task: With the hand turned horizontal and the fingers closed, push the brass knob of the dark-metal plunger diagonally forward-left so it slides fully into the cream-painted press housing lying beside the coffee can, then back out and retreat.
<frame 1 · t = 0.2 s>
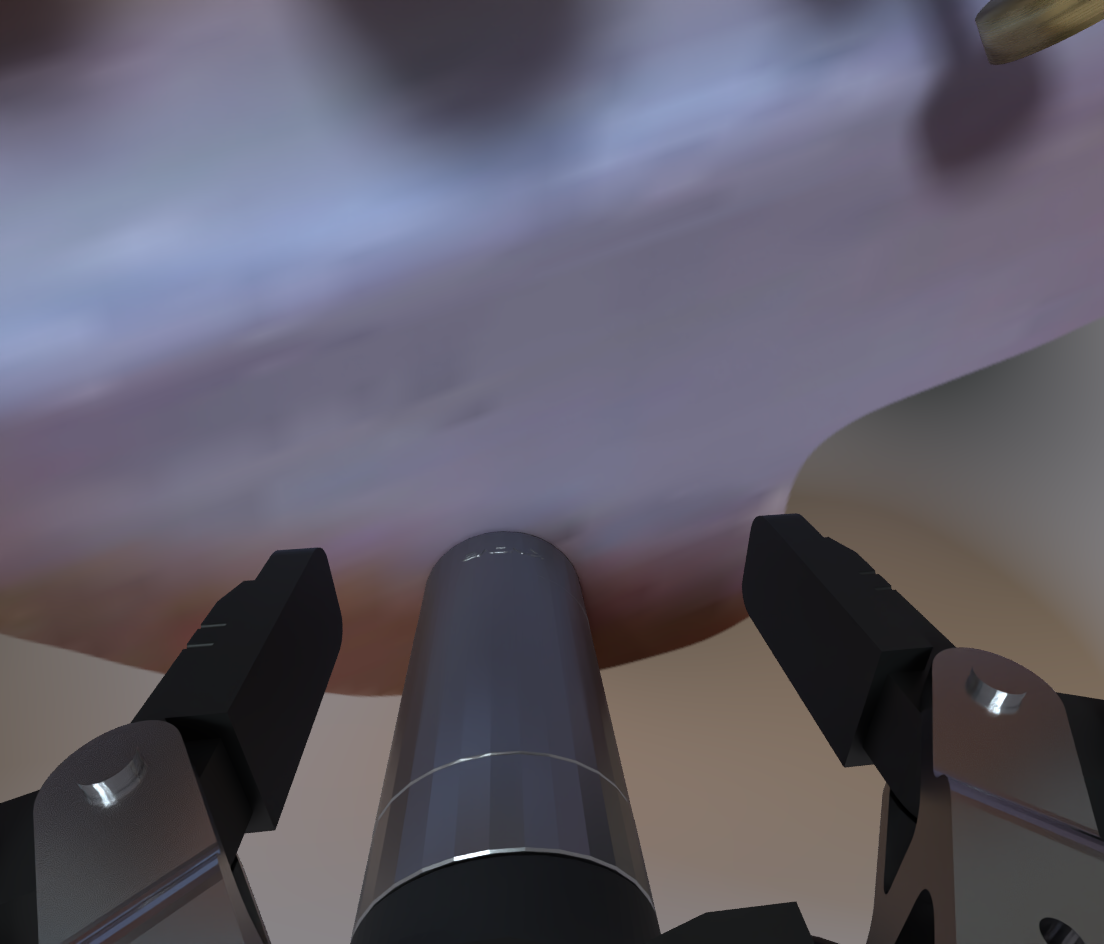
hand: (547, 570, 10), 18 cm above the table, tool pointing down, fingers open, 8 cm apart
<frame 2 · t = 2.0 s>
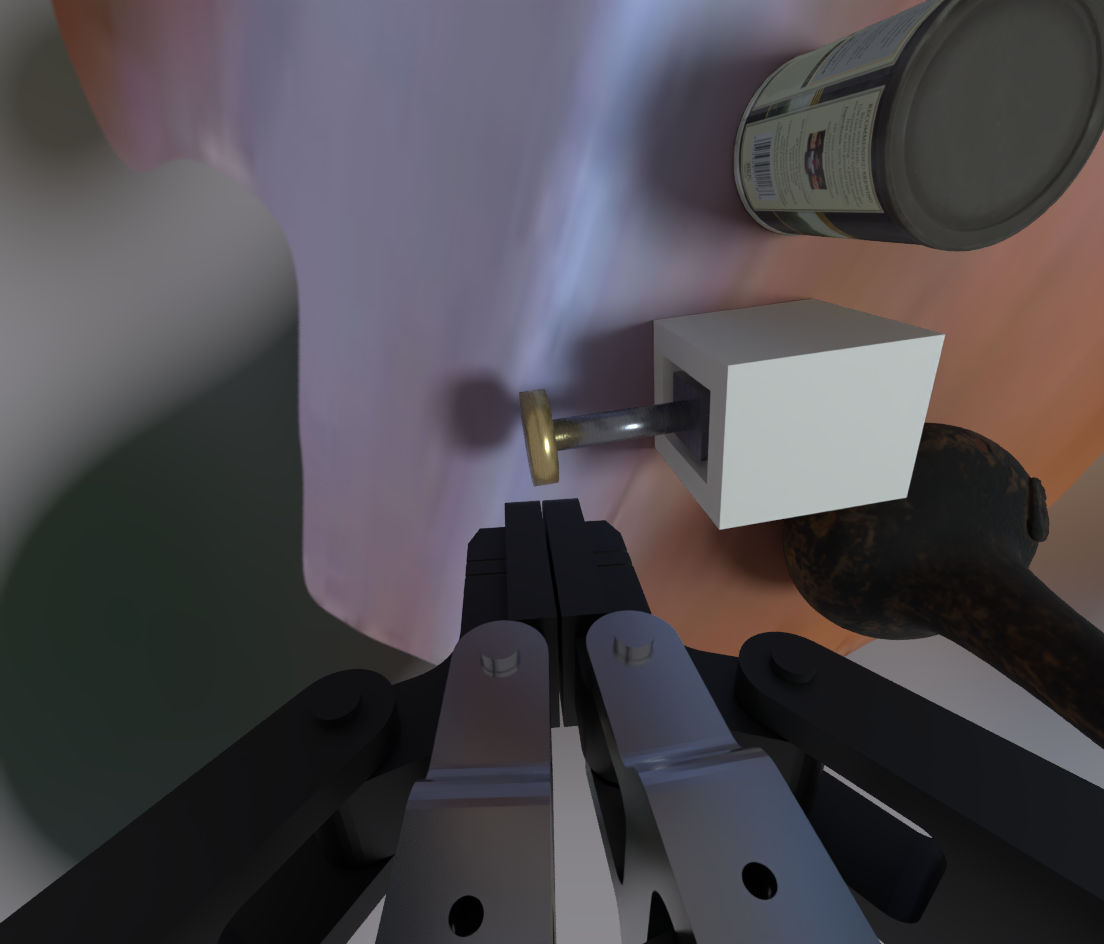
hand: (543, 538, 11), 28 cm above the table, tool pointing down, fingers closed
press housing: (730, 376, 41), on the table
coffee can: (806, 147, 35), on the table
plunger: (615, 426, 35), point 6 cm above the table, slide at 0.0 cm
antique onion bottle: (848, 492, 48), on the table
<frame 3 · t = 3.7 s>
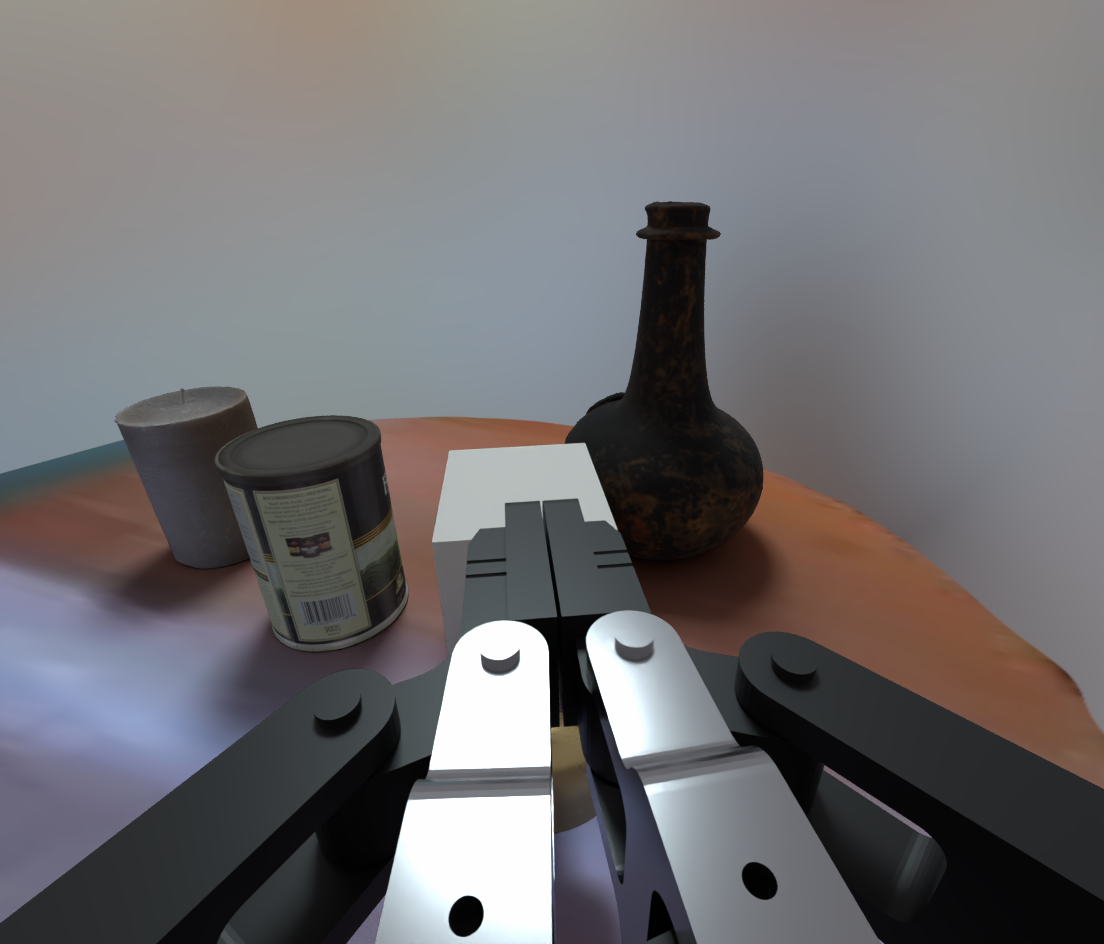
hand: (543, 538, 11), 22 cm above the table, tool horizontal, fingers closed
press housing: (528, 628, 40), on the table
coffee can: (342, 606, 43), on the table
plunger: (535, 683, 28), point 6 cm above the table, slide at 0.0 cm
pillar candle: (231, 541, 51), on the table
antique onion bottle: (653, 533, 51), on the table
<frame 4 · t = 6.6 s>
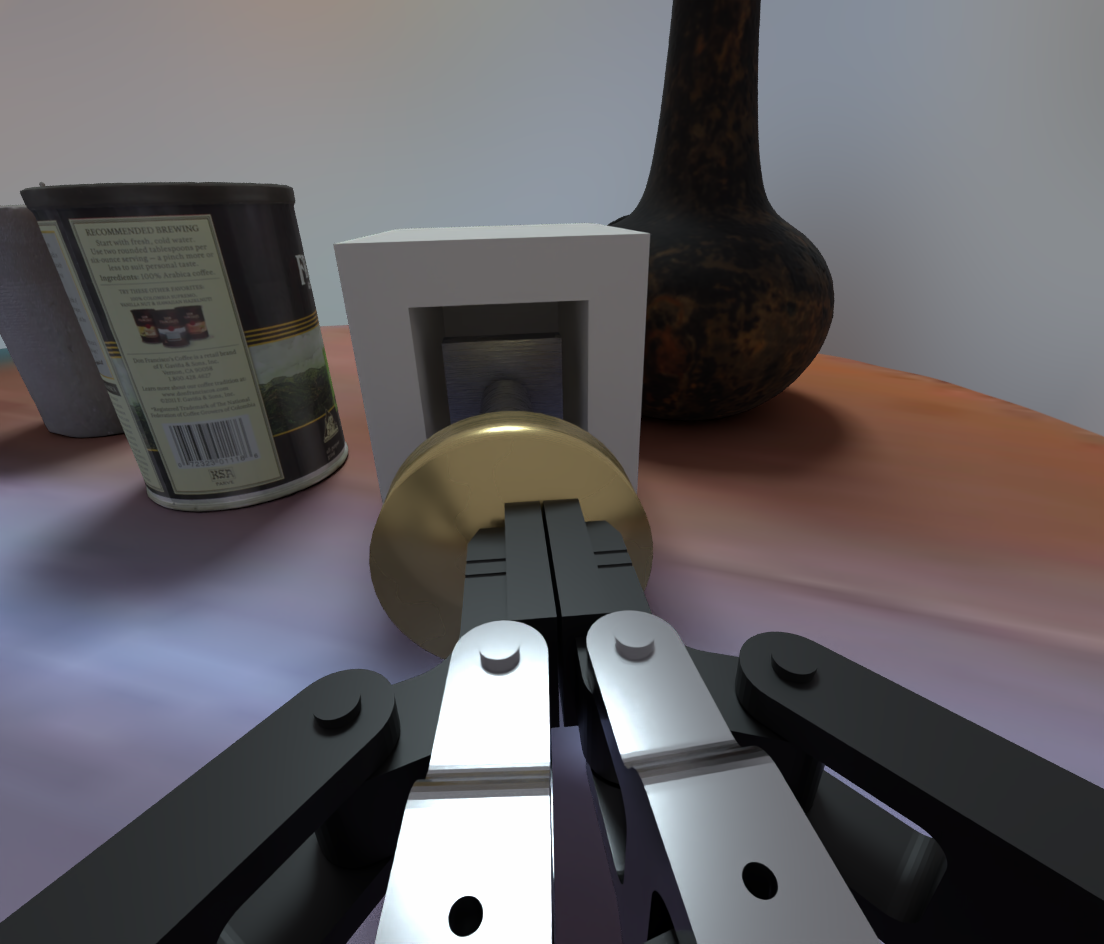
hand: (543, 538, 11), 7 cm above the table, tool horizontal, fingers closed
press housing: (512, 485, 28), on the table
coffee can: (254, 470, 31), on the table
plunger: (508, 456, 17), point 6 cm above the table, slide at 1.1 cm, touching gripper
pillar candle: (130, 416, 40), on the table
antique onion bottle: (679, 402, 39), on the table
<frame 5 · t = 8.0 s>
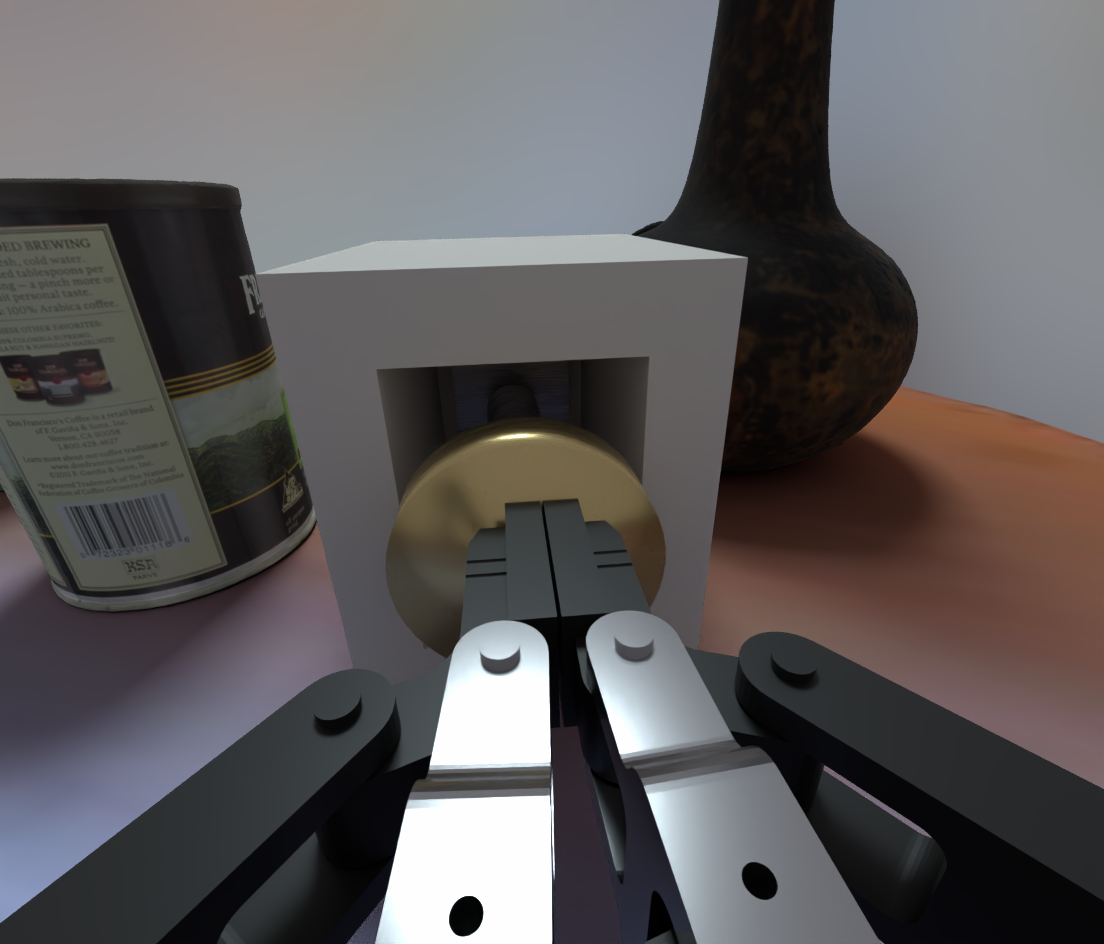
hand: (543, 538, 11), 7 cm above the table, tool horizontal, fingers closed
press housing: (523, 570, 22), on the table
coffee can: (198, 541, 25), on the table
plunger: (518, 460, 17), point 6 cm above the table, slide at 8.1 cm, touching gripper
antique onion bottle: (715, 443, 33), on the table
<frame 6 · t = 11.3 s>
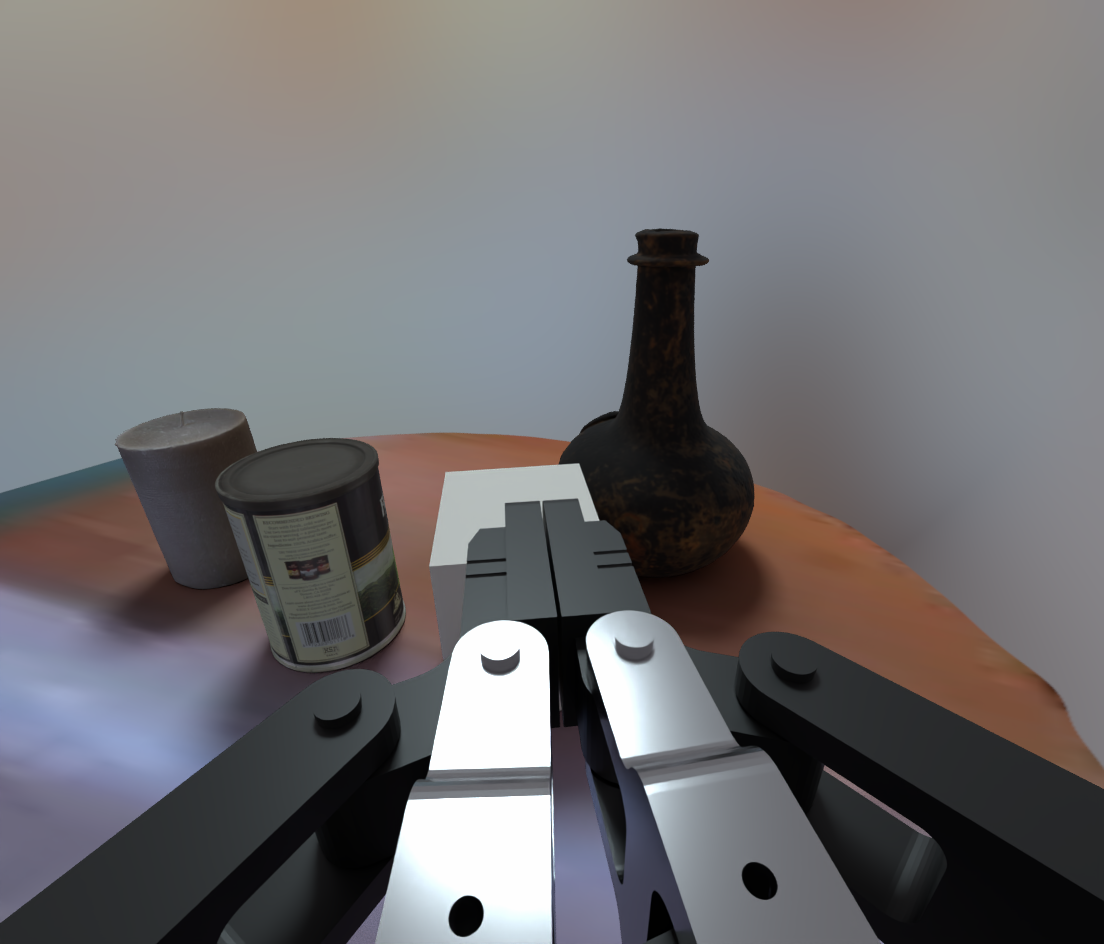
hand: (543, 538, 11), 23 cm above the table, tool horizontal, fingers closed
press housing: (525, 646, 40), on the table
coffee can: (340, 626, 43), on the table
pillar candle: (230, 561, 52), on the table
antique onion bottle: (647, 549, 52), on the table
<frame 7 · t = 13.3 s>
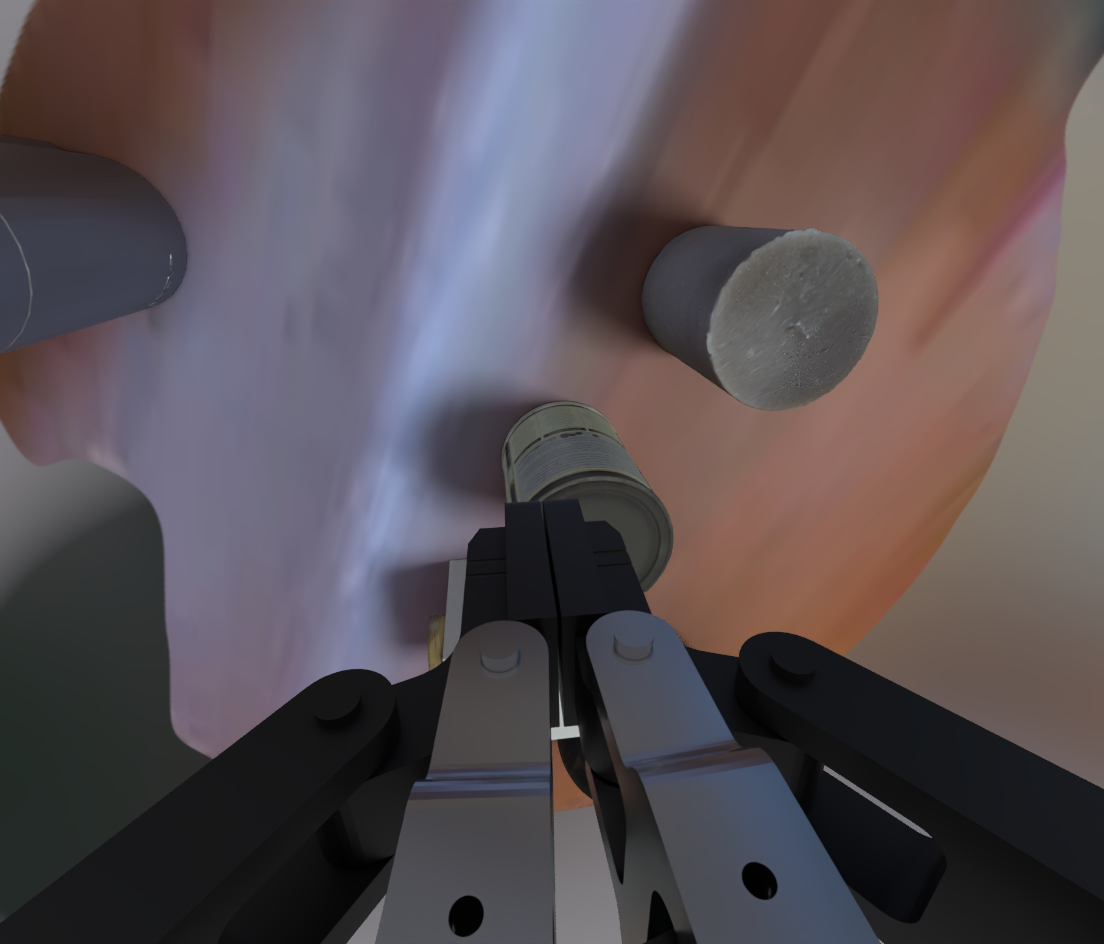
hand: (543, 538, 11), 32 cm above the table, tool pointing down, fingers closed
press housing: (518, 597, 52), on the table
coffee can: (561, 455, 46), on the table
plunger: (500, 644, 46), point 6 cm above the table, slide at 8.6 cm
pillar candle: (699, 291, 41), on the table
antique onion bottle: (630, 675, 59), on the table
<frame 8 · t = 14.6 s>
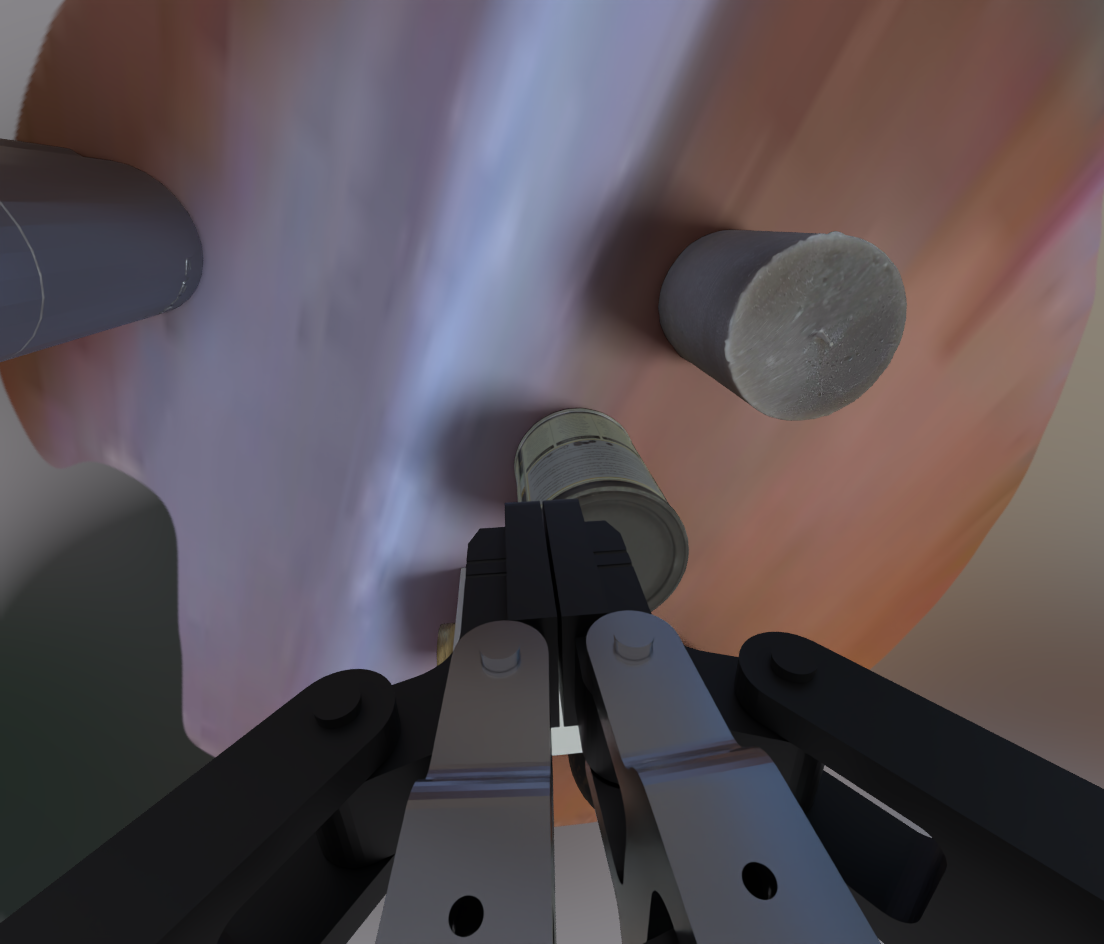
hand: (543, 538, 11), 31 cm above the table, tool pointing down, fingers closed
press housing: (529, 606, 51), on the table
coffee can: (574, 463, 45), on the table
plunger: (511, 655, 46), point 6 cm above the table, slide at 8.6 cm
pillar candle: (718, 297, 40), on the table
antique onion bottle: (644, 688, 58), on the table
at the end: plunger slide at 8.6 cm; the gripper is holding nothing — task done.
